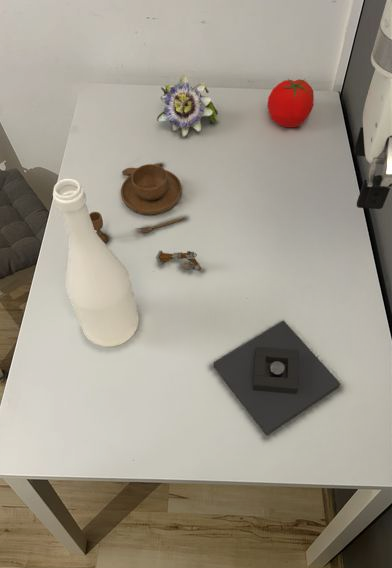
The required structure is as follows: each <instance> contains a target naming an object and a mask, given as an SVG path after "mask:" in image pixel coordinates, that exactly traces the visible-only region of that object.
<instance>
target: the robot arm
mask: <svg viewBox="0 0 392 568" xmlns="http://www.w3.org/2000/svg"><path fill="white" fill-rule="evenodd" d="M370 62H371V64H372V67H373V68H374V71H373V75H372V78H371V82H370V85H369V88H368V92H367V95H366V98H365V102H364V106H363V112H362V124H361V125H362V127H360V128H359V131H358V134H357V138H356V142H355V145H354V149H353V155H354V156H356V157H365V160H366V161H367V163H369V167H368V173H367V179H364V180H363V183H362V186H361V188H360V192H359V194H358V197H357V200H356V207H357V208H358V209H371V210H381V209H383V208H384V205H385V202H386V200H387V198H388V195H389V193H390V190H391V189H392V0H386V2H385V5H384V9H383V11H382V16H381V19H380V23H379V26H378V30H377V34H376V37H375V41H374V45H373V47H372V51H371V54H370ZM382 153H384V158H383V157H382V158H381V157H379V156H380V155H381V154H382ZM377 165H383V169H382V171H381V174H377V175H376V171H377Z"/></svg>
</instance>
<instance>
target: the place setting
mask: <svg viewBox="0 0 392 568" xmlns="http://www.w3.org/2000/svg"><path fill="white" fill-rule="evenodd" d="M161 165H163V164H162V163H161V162H160V163H154V164H152V163H149V164H144V165H140V166H139V167H127V168H125V169H123V170H122V171H121V173H122V175H125V176H127V175H128V176H127V177H126V178H125V179H124V181H123V183H122V185H121V188H120V195H121V199H122V201H123V203H124V204H125V206H126V207H128V208H129V209H130V210H132V211H134V212H136V213H138V214H142V215H158V214H162V213H165V212H166V211H168V210H170V209H173V207H175V205H176V204H177V203H178V201H179V200H180V198H181V195H182V191H183V189H182V188H183V187H182V183H181V181H180V179H179V177H177V175H175V173H173V172H171V171H169V170H167V169H165V168H164V167H162V166H161ZM89 215H90V218H91V221H92V224H93V227H94V230H95V232H96V233H97V235H98V236H99V237H100V239H101V240H102V241H103V242H104V243H105V244H107V243H108V241H109V236H108V234H107V233H104V232H103V231H102V229H103V227H104V220H103V217H102V214H101V212H99V211H91V212H89ZM183 220H186V217H181V218H176V219H173V220H170V221H166V222H163V223H159V224H156V225H153V226H145V227H137V228H136V232H137V233H138V234H145V233H146V234H147V233H150V232H152V231H153V230H154V229H156V228H160V227H163V226H168V225H170V224H171V225H172V224H173V223H177V222H181V221H183Z"/></svg>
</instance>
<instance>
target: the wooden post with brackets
mask: <svg viewBox="0 0 392 568" xmlns="http://www.w3.org/2000/svg"><path fill="white" fill-rule="evenodd" d="M197 256H198V253H196V252H195V251H190V250H187V252H182V251H180V252H173V253H167V252H164V251H163V250H161V249H160V250H159V251H158V253H157V254H156V256H155V258H156V260H157V262H158V263H159V265H162V264H163V263H164V262H167V261H170V260H173V261H182V260H187V261H188V262H186V261H184V263H182V264H181V267H182V268H184V270H187V269H188V270H191V269H192V268H193V269H194V268H195V269H196V271H197V272H201V270H202V267H201V264H200V262H198V261H197V259H196V257H197Z"/></svg>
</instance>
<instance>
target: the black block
mask: <svg viewBox="0 0 392 568" xmlns="http://www.w3.org/2000/svg"><path fill="white" fill-rule="evenodd" d="M275 361H279V362H281V363H283V364H287V367H286V378H278V377H267V376H265V364H266V362H268V363H273V362H275ZM298 372H299V350H289V349H277V348H266V347H256V351H255V362H254V377H253V390H257V391H268V392H278V393H289V394H296V393H297V390H298Z"/></svg>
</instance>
